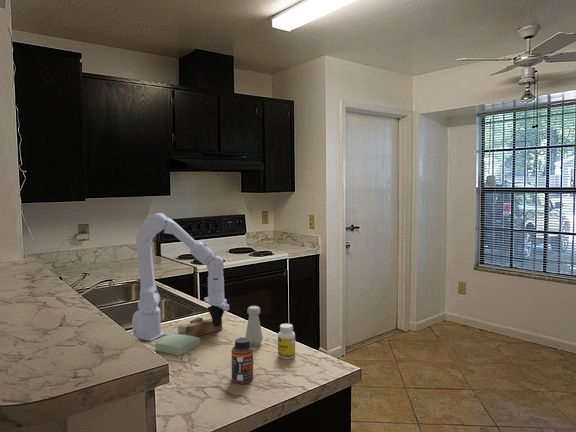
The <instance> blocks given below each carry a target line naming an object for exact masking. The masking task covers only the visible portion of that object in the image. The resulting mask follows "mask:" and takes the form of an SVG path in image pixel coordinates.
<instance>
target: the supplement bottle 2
mask: <svg viewBox="0 0 576 432" xmlns="http://www.w3.org/2000/svg"><path fill="white" fill-rule="evenodd" d="M279 330H280V331H279V332H278V333H277V355H278V357H279V358H280V359H284V360H290V359H293V358H294V357H295V356H296V333H295V331H294V326H293V324H292V323H281V324H280V325H279Z"/></svg>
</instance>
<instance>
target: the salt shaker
mask: <svg viewBox="0 0 576 432" xmlns="http://www.w3.org/2000/svg"><path fill="white" fill-rule="evenodd" d="M246 311H247V314H248V320H247V326H246V333H245V337H244V338H248V339H249V341H250V344H249V345H250V346H251V347H252V348H257V347H259V346H260V345H261V344H262V341H263V339H264V336H263V332H262V327H261V322H260V317H259V315H260V314H261V308H260V307H259V306H258V305H250V306H248V308H247V310H246Z"/></svg>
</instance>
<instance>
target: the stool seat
mask: <svg viewBox="0 0 576 432" xmlns="http://www.w3.org/2000/svg"><path fill="white" fill-rule="evenodd" d="M198 346H200V337H198V336H195V337H194V336H188V335H183V334H178V332H176V333H173V334H171V335H169V336H166V337H165V338H162V339H161V340H159V341H156V342H155V351H157V352H161V353H168V354H173V355H176V356H182V355H184V354H185V353H187V352H188V351H191V350H192V349H194V348H196V347H198Z"/></svg>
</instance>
